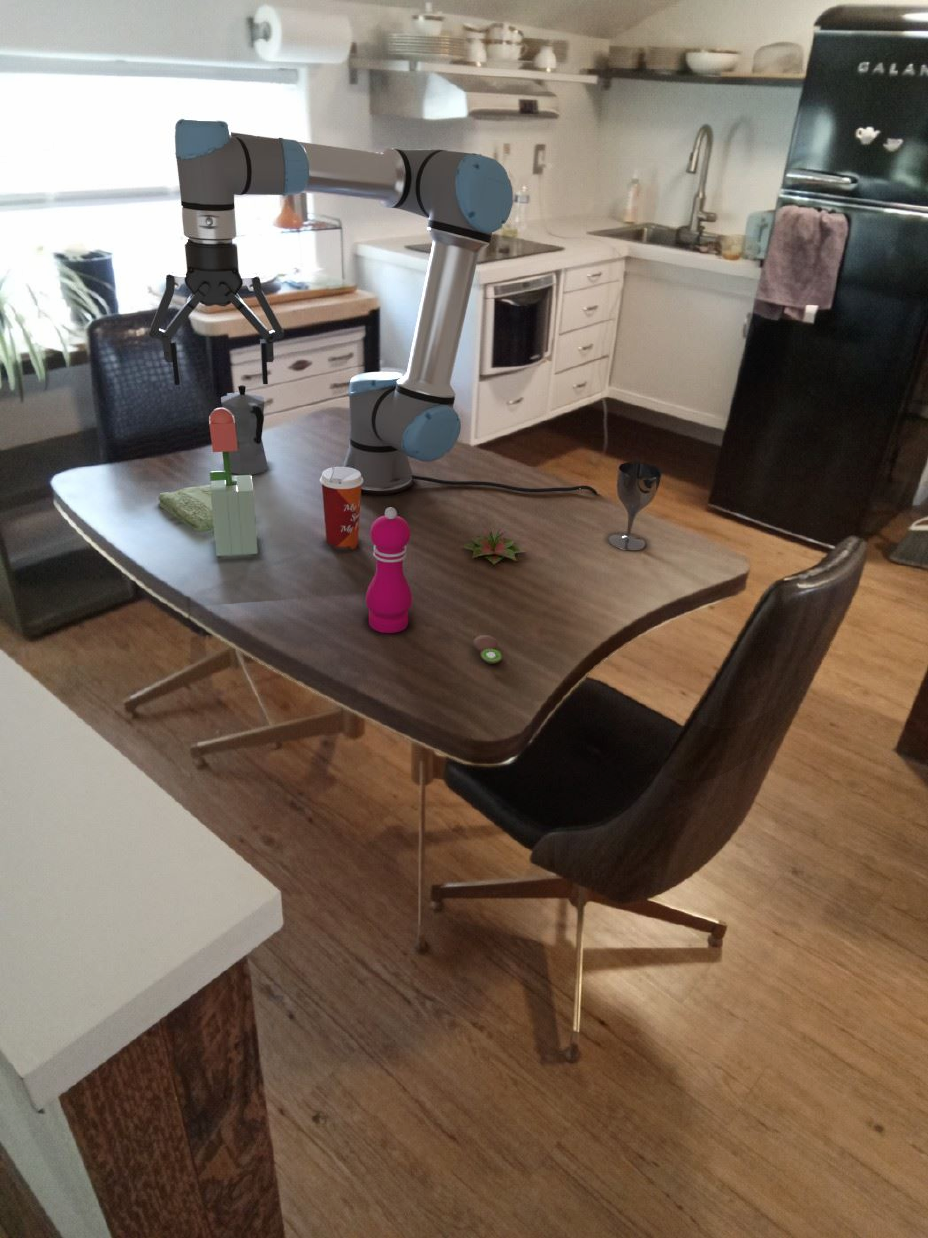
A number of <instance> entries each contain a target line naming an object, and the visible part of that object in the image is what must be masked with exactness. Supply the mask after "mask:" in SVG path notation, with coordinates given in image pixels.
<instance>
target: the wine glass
mask: <svg viewBox="0 0 928 1238" xmlns="http://www.w3.org/2000/svg"><path fill="white" fill-rule="evenodd" d="M661 479H662V470H661V469H660V468H659V467H657V466H655V465H653V464H650V463H647V462H639V461H627V462H623V463H621V464H620V465H619V466H618V470H617V476H616V492H617V497H618V499H619V501H620V502H621V505H623V507H624V509H625V510H626V513H627V527H626V533H616V534H615V533H614V534H612V535H611V536H610V537H608V542H609V544H610V545H611V546H613V547H615V548H617V549H620V550H624V551H640V550H643V549H644V548H645V547H646V542H645V541H644V539H642V538H640V537H638V536H637V535H633V534H631V533H632V527H633V525H634V521H635V518H636V517H637V515H638V514H639V513H640V512H641V511H642V510H643V509H644V508H647V506H648V505H650V504H651V503H652V502H653V501H654V499H655V497H656V494H657V491H658V489H659V487H660V483H661Z"/></svg>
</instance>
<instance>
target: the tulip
mask: <svg viewBox="0 0 928 1238" xmlns="http://www.w3.org/2000/svg"><path fill="white" fill-rule="evenodd" d="M208 422H209V423H208V425H209V432H210V441H211V448H212V449H211V450H212V453H222V454H221V455H222V463H223V470H216V471H209V481H210V480H211V481H219V480H226V486H233V483H232V476H233V475H232V472H231V465H230V456H229V451H238V448H237V439H236V430H235V421H234V415H232V413H231V412H230V411H229V410H227V409H225V408H222V407H217V408H214V409H213V411H211V413H210V415H209V416H208Z"/></svg>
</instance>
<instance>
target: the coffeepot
mask: <svg viewBox="0 0 928 1238" xmlns="http://www.w3.org/2000/svg"><path fill="white" fill-rule="evenodd" d="M246 387H247V386H246V385H243V384H241V385H238V386H237V388H238V392H237V391H235V392H234V391H233V392H227V393H226V395H224V396H221V397H220V403H221V408H225V409H227V410H229V411H230V412H231V413H232V415H234V421H235V430H236V439H237V448H238V451H229V456H230V465H231V474H232V473H233V474H236V475H251V476H252V475H257V474H261V473H264V472H266V471H267V470H268V469H269V466H268V461H267V456H266V452H265V448H264V447H265V446H264V443H263V437H262V436H263V428H264V421H265V414H264V413H265V412H264V411H265V403H266V402H265V397H264V396H263V395H258V394H256V393H255V394H254V393H249V392H247V393H246V390H247V389H246Z"/></svg>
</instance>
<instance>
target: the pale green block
mask: <svg viewBox="0 0 928 1238" xmlns="http://www.w3.org/2000/svg"><path fill="white" fill-rule="evenodd" d="M209 482H210V483H209V485H210V492H211V503H212V513H213V523H214V528H213V532H214V533H213V535H214V542H215V553H216V557H227V556H228V557H230V556H244V555H245V556H247V555H258V554H259V553H258V538H257V537H258V535H257V524H256V523H257V522H256V509H255V496H254V494H255V492H254V485H253V478H252V475H241V474H236V475H232V483H233V486H226V480H219V481H211V480H210V479H209Z"/></svg>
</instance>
